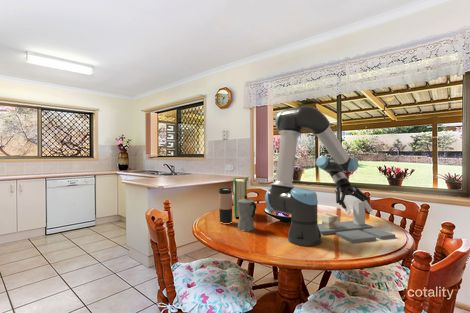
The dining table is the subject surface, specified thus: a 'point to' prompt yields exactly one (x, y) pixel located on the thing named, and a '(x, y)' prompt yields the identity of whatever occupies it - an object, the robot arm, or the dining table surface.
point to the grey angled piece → (356, 224)
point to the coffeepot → (246, 214)
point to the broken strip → (364, 235)
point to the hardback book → (239, 192)
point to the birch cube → (330, 221)
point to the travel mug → (225, 205)
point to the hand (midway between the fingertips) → (360, 212)
